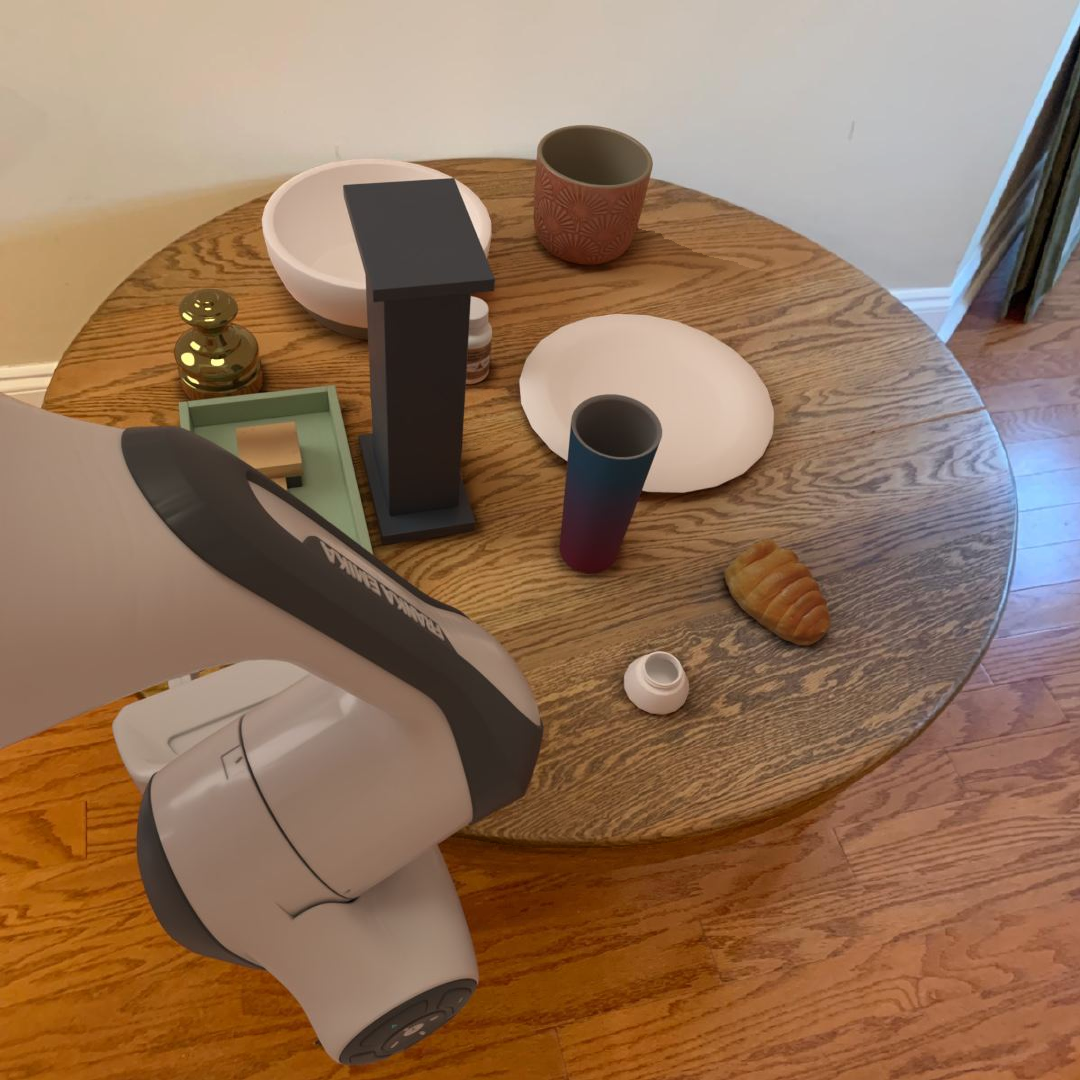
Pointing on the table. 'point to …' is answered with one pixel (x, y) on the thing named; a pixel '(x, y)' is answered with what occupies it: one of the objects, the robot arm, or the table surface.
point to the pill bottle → (478, 342)
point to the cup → (605, 477)
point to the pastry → (779, 592)
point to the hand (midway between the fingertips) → (261, 618)
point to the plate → (654, 394)
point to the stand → (417, 350)
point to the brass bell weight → (216, 348)
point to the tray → (319, 443)
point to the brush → (272, 452)
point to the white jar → (656, 683)
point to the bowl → (337, 237)
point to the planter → (589, 192)
